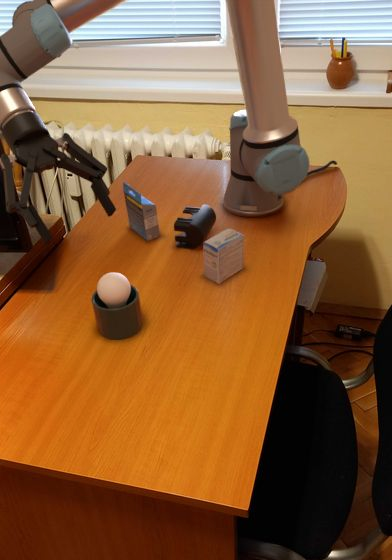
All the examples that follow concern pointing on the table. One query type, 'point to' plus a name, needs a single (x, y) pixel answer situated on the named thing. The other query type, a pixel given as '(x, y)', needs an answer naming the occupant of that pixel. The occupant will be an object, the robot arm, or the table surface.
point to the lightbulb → (114, 290)
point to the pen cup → (118, 317)
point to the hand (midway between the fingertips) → (81, 226)
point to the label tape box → (141, 214)
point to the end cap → (194, 226)
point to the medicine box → (223, 255)
